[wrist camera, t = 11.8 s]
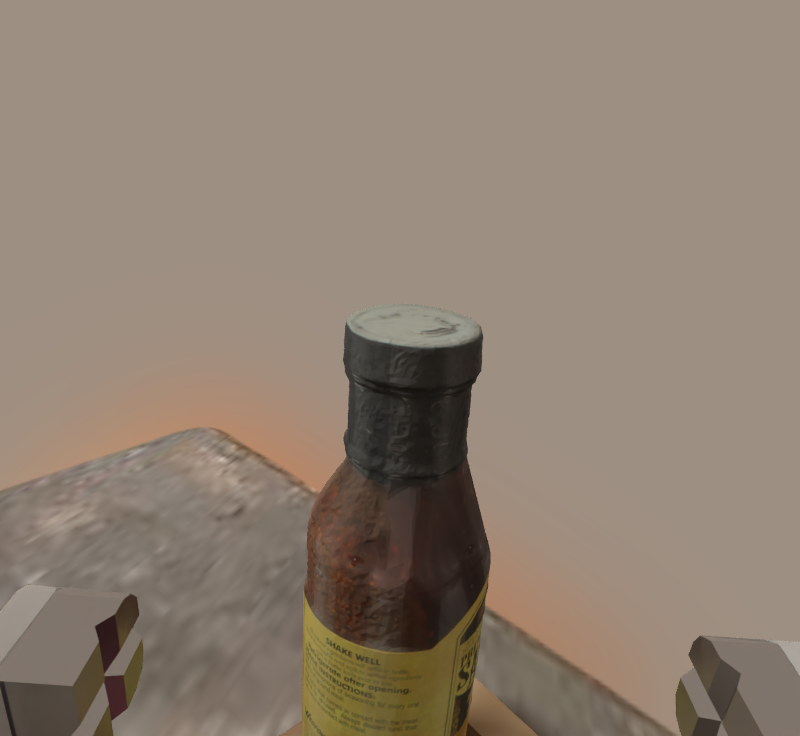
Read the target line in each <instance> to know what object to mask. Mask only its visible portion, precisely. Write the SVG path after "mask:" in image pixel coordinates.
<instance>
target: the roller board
mask: <svg viewBox="0 0 800 736" xmlns="http://www.w3.org/2000/svg"><path fill="white" fill-rule="evenodd" d="M280 736H302V721H301V722H300V723H298V724H297V725H295V726H294V727H292V728H291V729H289V730H288V731H286V732H285V733H283V734H282V735H280ZM466 736H538V735H537V734H536V733H535V732H534V731H532V730H531V729H530V728H529V727H528V726H527V725H526V724H525V723H524V722H523V721H522V720H520V719H519V718H518V717H517V716H516V715H515V714H514V713H513V712H512V711H511V710H510V709H508V708H507V707H506V706H505V705H504V704H503V703H502V702H501V701H500V700H499V699H498V698H496V697H495V696H494V695H493V694H492V693H491V692H490V691H489V690H488V689H487V688H486V687H484V686H483V685H482V684H481V683H480V682H479V681H478V680H477V679H476V678H475V677H474V683H473V689H472V701H471V704H470V710H469V717H468V723H467V730H466Z"/></svg>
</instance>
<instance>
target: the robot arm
mask: <svg viewBox="0 0 800 736" xmlns="http://www.w3.org/2000/svg"><path fill="white" fill-rule="evenodd" d="M138 616H139V609H138V603H137V597H136V596H134V595H132V594H126V593H116V592H106V591H96V590H86V589H76V588H66V587H63V588H58V587H49V586H39V585H29V584H28V585H27V586H25V587H23V588H21V589H19V590H18V591H17V592H16V593H15V594H14V595H13V596H12V598H11V599H10V600H9V601H8V603H7V604H6V605H5V606H4V607H3V609H2V610H1V611H0V736H113V730H112V723H111V721H112V720H113V719H114V718H116V717H117V716H118V715H119V714H121V713H122V712H123V711H125V710H126V709H127V708H128V706H129V704H130V702H131V700H132V698H133V695H134V693H135V691H136V688H137V684H138V681H139V677H140V673H141V669H142V661H143V643H142V637H141V636H140V635H139V634H138V633H137V632H136V631H135V630H134V629H133V626H134V624H135V622H136V620H137V618H138ZM689 657H690V659H691V661H692V663H693V665H694V668H693V669H692V670H690V671H689V672H688V673H687V674H685V675H683V676H682V677H681V678H680V682H679V685H678V689H677V692H676V716H677V721H678V725H679V729H680V732H681V735H682V736H800V642H794V641H778V640H769V641H767V640H760V639H745V638H730V637H712V636H699V637H698V638H697V639H696V640H695V641H694V642H693V644H692V647H691V650H690V652H689Z"/></svg>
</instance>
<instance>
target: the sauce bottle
mask: <svg viewBox="0 0 800 736" xmlns="http://www.w3.org/2000/svg"><path fill="white" fill-rule="evenodd" d="M482 340H483V334H482V330H481V327H480V325H479V324H478V323H477V322H476V321H474V320H473V319H471V318H469V317H466V316H464V315H461V314H458V313H455V312H452V311H448V310H444V309H440V308H434V307H428V306H422V305H408V304H397V305H396V304H393V305H382V306H376V307H371V308H368V309H364V310H360V311H357V312H355V313H354V314H352V315H351V316H350V317H349V318H348V319H347V322H346V326H345V339H344V348H345V349H344V358H343V361H344V365H345V372H346V375H347V377H348V379H349V382H350V383H349V404H348V406H349V410H348V429H347V430H346V431H345V434H344V444H345V451H346V454H347V456H346V458H345V460H344V462H343V463H342V464H341V465H340V466H339V467H338V468H337V469H336V472H335V473H334V474H333V475H332V476H331V478H330V479H329V480H328V481H327V483H326V484H325V486H324V488H323V489H322V491H321V492H320V493H319V495H318V497H317V499H316V501H315V503H314V506H313V508H312V511H311V515H310V518H309V522H308V532H307V549H308V562H307V565H308V569H307V575H306V579H305V584H304V599H303V678H302V736H466V730H467V723H468V717H469V710H470V704H471V701H472V689H473V683H474V675H475V671H476V665H477V660H478V652H479V647H480V634H481V627H482V620H483V614H484V610H485V597H486V593H487V589H488V577H489V570H490V549H489V544H488V540H487V537H486V533H485V529H484V526H483V521H482V517H481V513H480V509H479V505H478V501H477V497H476V493H475V489H474V485H473V481H472V476H471V473H470V469H469V464H468V460H467V453H468V448H467V441H466V437H467V427H468V418H469V414H470V413H469V412H470V402H471V389H472V384H473V383H475V381H476V378H477V376H478V375H479V373H480V372H481V365H482Z"/></svg>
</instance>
